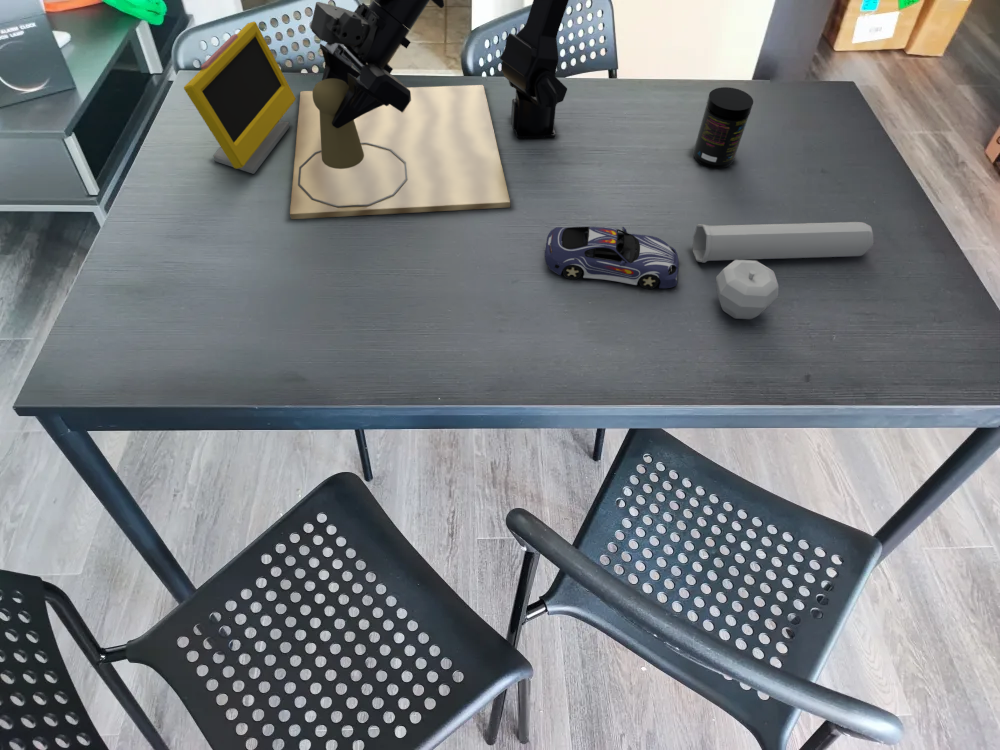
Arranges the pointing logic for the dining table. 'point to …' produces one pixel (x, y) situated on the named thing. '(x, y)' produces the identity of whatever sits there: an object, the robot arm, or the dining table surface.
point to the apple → (746, 288)
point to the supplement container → (722, 127)
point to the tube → (781, 241)
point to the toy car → (611, 256)
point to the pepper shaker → (336, 143)
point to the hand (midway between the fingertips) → (326, 117)
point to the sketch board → (404, 159)
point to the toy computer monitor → (242, 99)
